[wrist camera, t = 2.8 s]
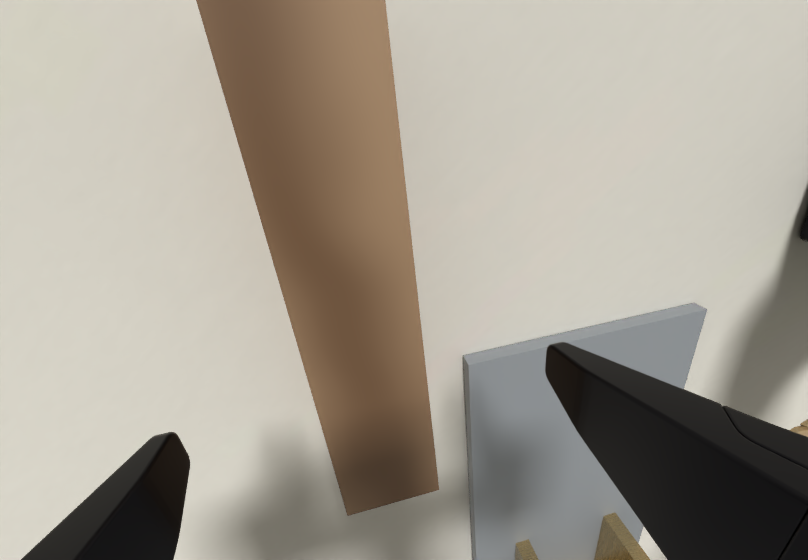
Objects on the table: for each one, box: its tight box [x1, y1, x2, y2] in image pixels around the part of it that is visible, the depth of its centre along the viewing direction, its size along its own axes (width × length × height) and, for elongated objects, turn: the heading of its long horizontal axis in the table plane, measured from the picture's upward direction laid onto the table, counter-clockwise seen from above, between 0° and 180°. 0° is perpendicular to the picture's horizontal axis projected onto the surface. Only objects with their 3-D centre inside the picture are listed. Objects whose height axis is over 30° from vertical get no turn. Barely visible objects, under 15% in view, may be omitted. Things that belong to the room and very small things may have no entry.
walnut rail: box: [196, 0, 439, 516], centre depth 14 cm, size 4×18×5 cm, turn 6°
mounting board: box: [463, 303, 707, 560], centre depth 25 cm, size 14×24×1 cm, turn 6°
